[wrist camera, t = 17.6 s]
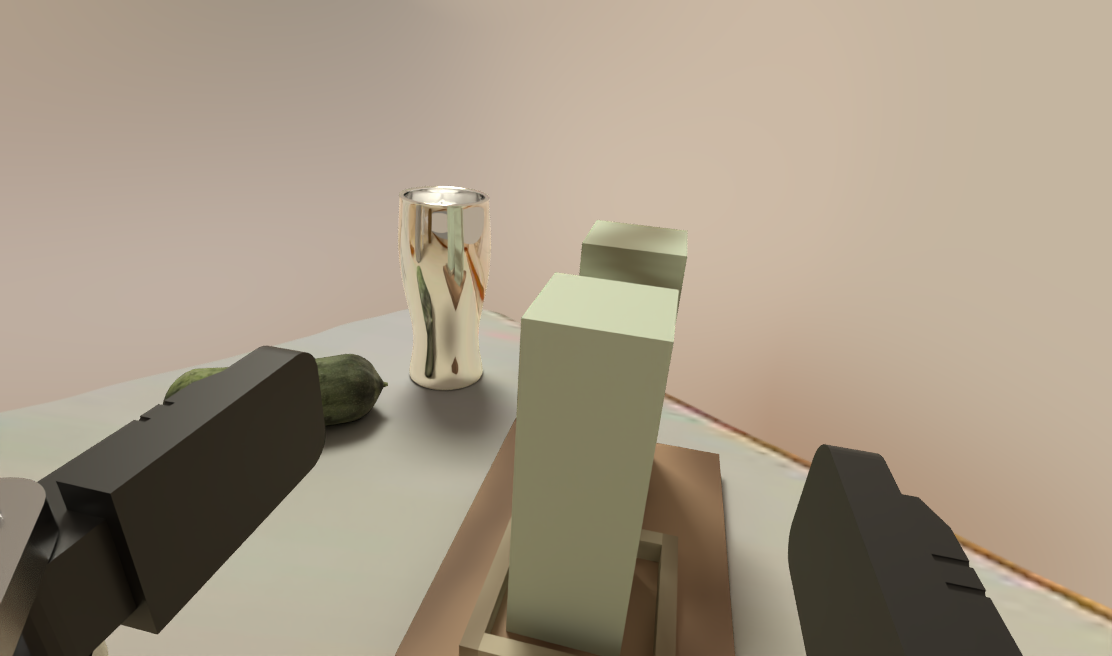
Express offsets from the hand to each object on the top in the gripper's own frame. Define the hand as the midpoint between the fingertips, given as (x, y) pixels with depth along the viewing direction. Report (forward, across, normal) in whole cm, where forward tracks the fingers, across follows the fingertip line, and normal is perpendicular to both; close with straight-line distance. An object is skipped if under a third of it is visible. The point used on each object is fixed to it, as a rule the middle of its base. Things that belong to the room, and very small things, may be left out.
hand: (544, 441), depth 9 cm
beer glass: (+32, +15, +20) cm, 41 cm away
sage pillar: (+12, 0, +17) cm, 21 cm away
